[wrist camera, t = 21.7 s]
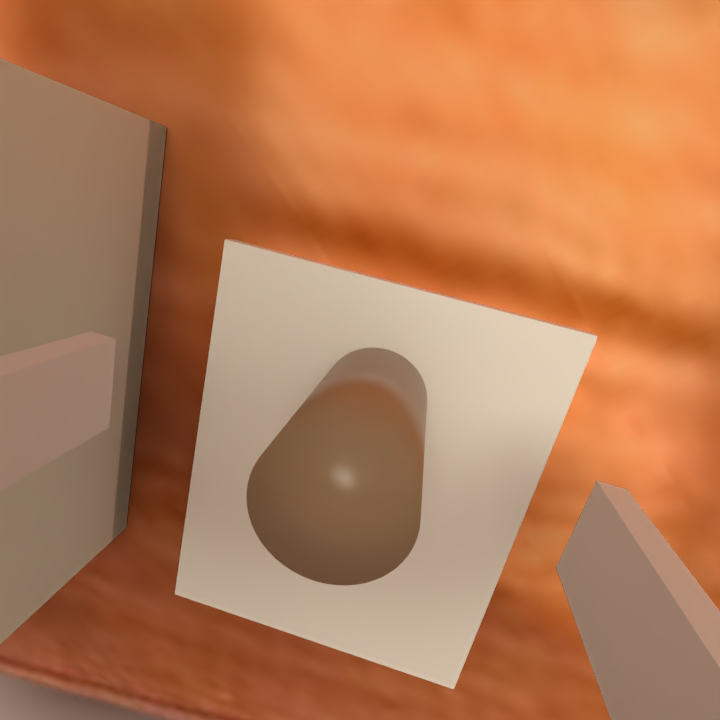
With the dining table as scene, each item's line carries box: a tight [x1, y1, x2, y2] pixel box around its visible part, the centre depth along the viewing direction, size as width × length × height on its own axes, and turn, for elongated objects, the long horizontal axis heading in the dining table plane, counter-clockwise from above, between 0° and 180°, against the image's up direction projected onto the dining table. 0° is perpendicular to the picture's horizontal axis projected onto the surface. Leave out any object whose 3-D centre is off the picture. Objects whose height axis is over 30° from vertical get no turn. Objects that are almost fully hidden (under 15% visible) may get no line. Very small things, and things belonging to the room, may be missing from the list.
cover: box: [175, 239, 598, 689], centre depth 15 cm, size 14×17×9 cm
